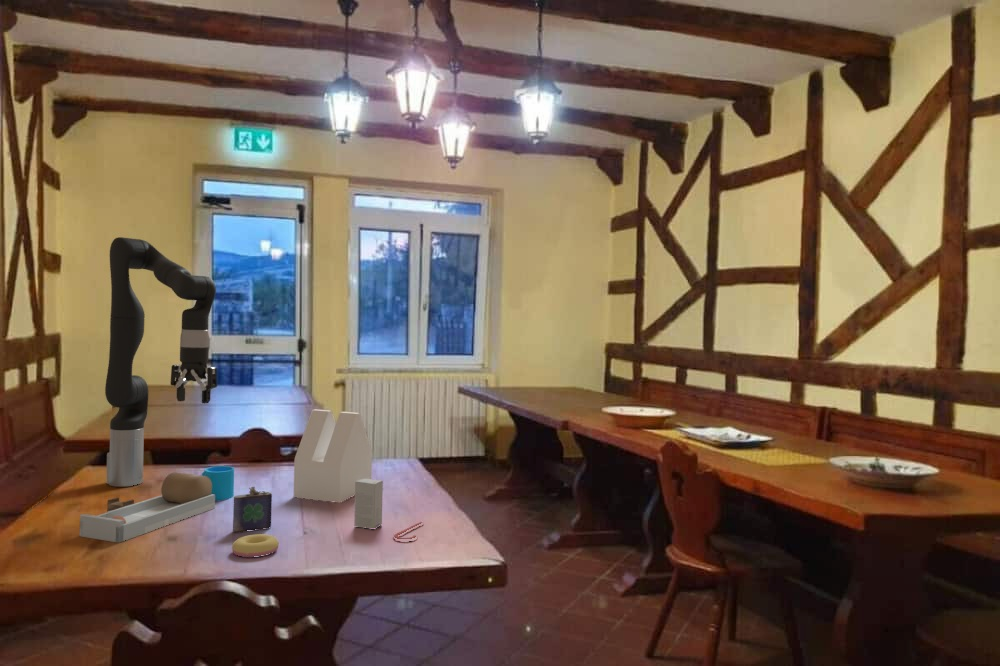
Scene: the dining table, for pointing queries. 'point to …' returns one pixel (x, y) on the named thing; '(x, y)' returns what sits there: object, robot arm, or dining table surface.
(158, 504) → the lane
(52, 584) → the dining table surface
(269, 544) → the donut
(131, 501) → the brown wooden bracket block
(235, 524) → the flask
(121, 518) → the ball
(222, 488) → the mug
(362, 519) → the skincare box
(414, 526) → the candy cane
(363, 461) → the white slotted block
